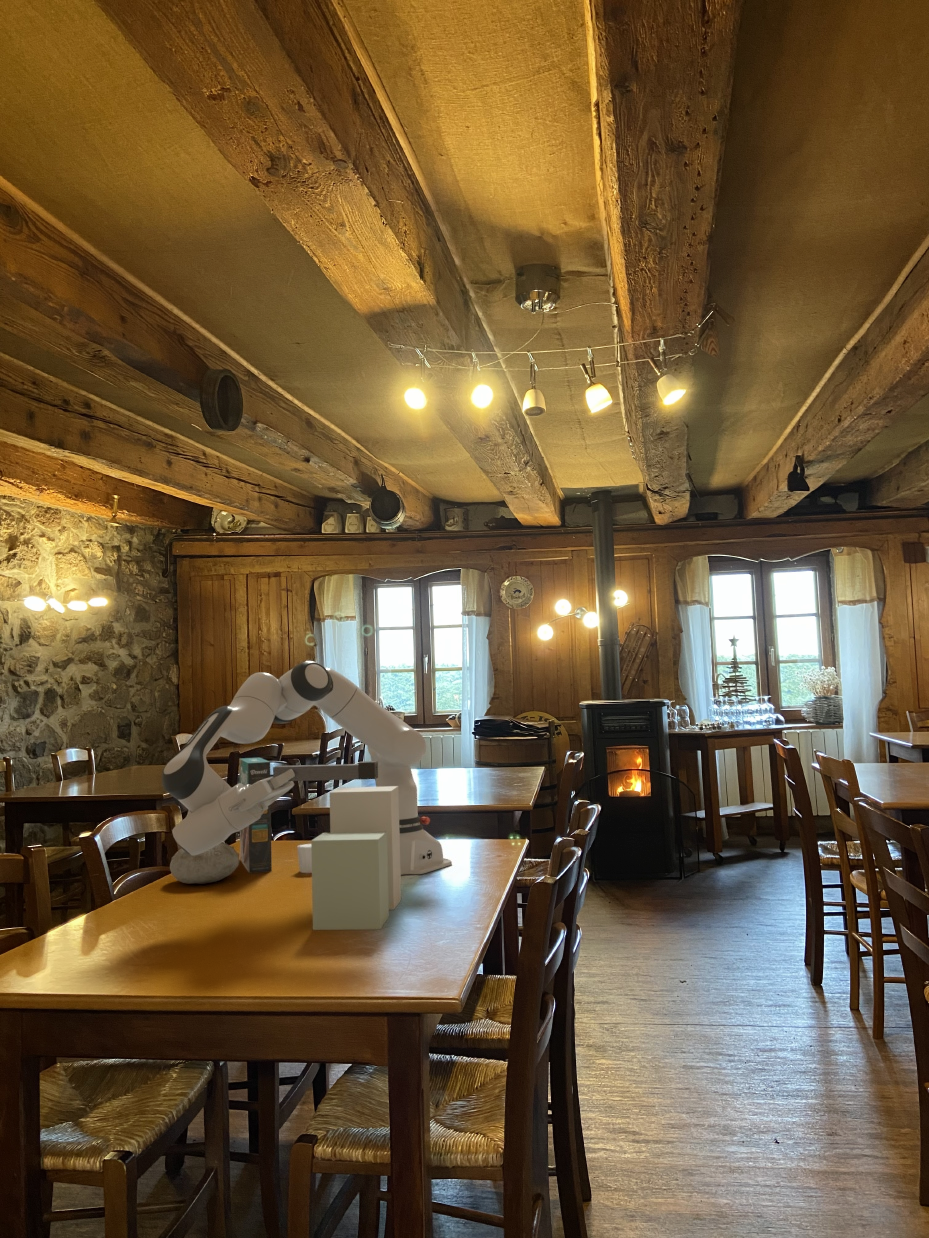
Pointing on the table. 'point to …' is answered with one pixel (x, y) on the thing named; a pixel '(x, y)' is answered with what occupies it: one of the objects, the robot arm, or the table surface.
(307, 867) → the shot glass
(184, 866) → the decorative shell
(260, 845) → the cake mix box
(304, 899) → the table surface
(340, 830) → the tall post
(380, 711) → the robot arm
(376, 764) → the metal bar
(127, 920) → the table surface
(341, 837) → the low post
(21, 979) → the table surface
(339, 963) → the table surface
